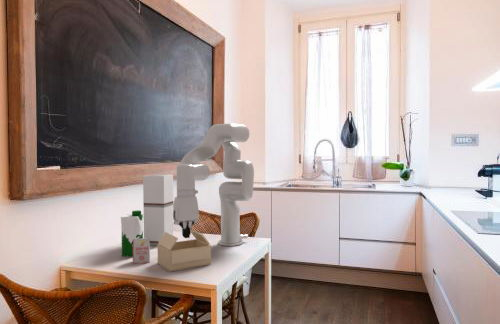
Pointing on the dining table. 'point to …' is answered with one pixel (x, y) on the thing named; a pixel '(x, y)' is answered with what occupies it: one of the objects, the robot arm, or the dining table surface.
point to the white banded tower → (157, 206)
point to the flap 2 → (199, 237)
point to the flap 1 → (168, 241)
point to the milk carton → (131, 231)
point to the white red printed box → (141, 250)
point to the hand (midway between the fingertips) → (186, 237)
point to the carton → (184, 255)
